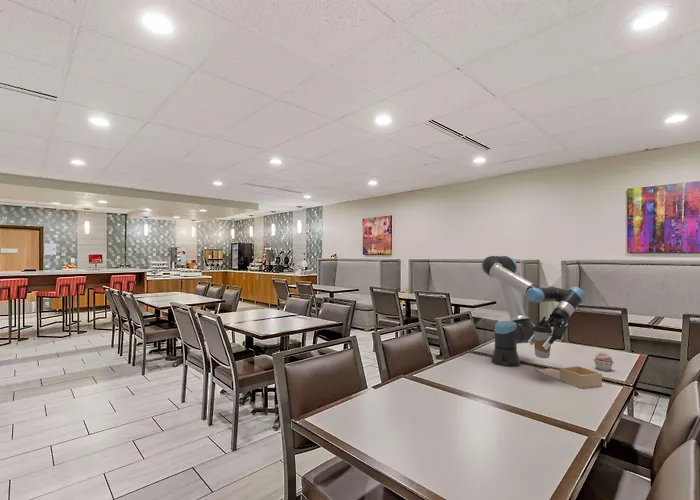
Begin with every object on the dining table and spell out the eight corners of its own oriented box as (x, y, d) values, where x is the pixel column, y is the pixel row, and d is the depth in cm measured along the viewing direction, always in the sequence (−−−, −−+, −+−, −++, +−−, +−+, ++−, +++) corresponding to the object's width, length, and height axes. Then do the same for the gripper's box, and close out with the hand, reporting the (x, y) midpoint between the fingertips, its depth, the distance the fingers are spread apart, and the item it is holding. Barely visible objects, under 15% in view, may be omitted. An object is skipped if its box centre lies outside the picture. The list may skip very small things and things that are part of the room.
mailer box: (534, 371, 193) (534, 359, 193) (552, 369, 197) (552, 358, 197) (582, 388, 167) (582, 375, 167) (601, 386, 171) (601, 373, 171)
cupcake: (618, 372, 193) (618, 353, 193) (600, 372, 193) (600, 353, 194) (606, 367, 202) (606, 349, 203) (589, 366, 203) (589, 349, 203)
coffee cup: (547, 354, 184) (547, 325, 184) (554, 359, 176) (555, 328, 176) (530, 353, 185) (530, 324, 185) (537, 358, 176) (537, 327, 176)
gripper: (585, 321, 175) (559, 356, 170) (549, 313, 195) (525, 345, 190) (577, 310, 173) (550, 345, 168) (541, 304, 193) (517, 335, 188)
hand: (537, 345), depth 179 cm, fingers closed on coffee cup, 8 cm apart
